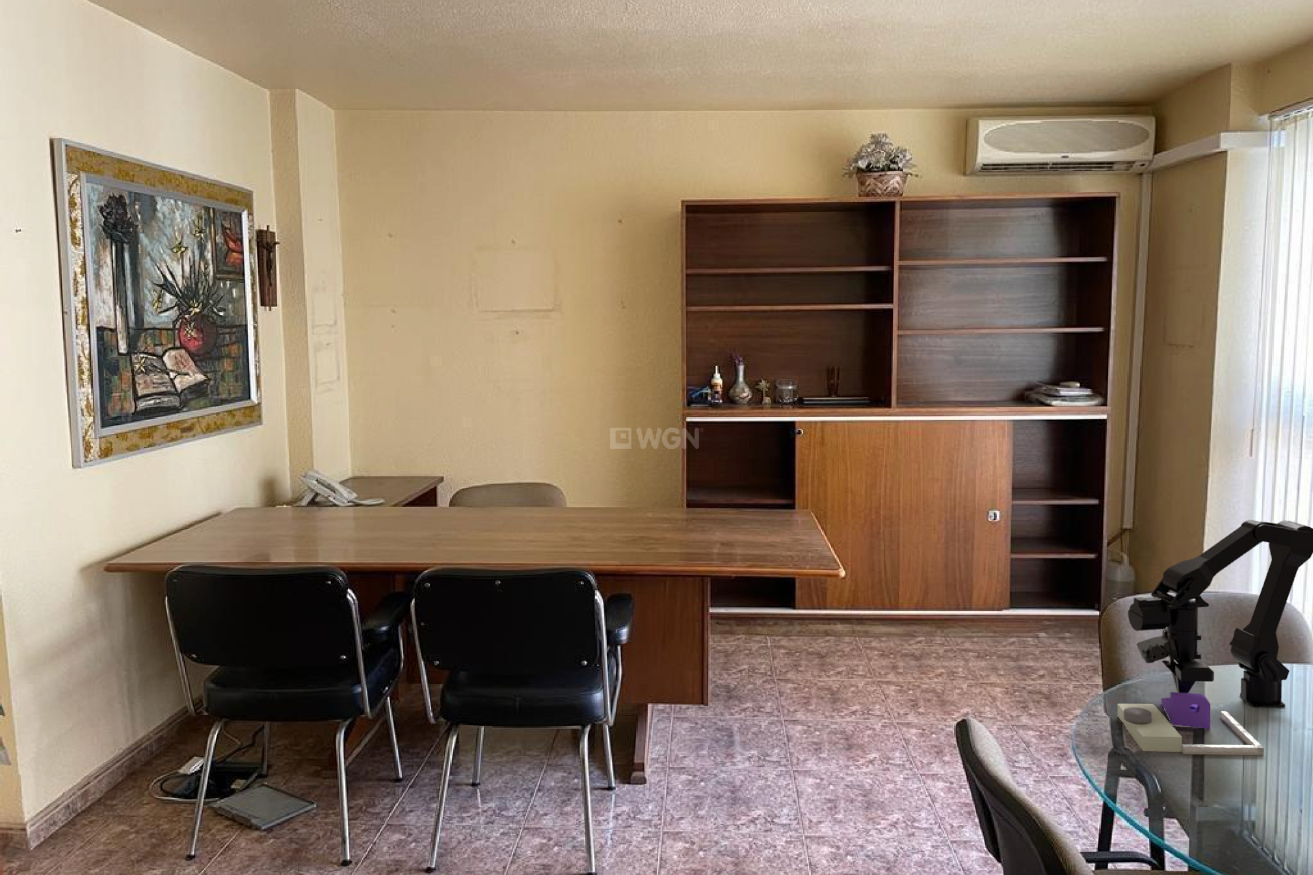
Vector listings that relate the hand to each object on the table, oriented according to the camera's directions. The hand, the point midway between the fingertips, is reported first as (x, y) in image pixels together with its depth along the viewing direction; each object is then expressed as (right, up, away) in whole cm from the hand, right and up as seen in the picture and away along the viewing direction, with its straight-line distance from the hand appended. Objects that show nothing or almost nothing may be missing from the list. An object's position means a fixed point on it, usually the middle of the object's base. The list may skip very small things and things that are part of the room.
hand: (1181, 697), depth 204 cm
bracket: (-2, -3, -4) cm, 5 cm away
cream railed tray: (-7, -4, -13) cm, 15 cm away
